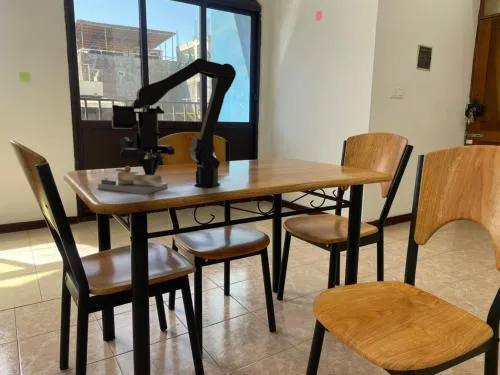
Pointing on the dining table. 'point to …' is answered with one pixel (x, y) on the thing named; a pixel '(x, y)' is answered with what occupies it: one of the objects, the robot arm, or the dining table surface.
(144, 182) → the cream stepped block
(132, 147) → the robot arm
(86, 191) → the dining table surface
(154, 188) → the level stand
